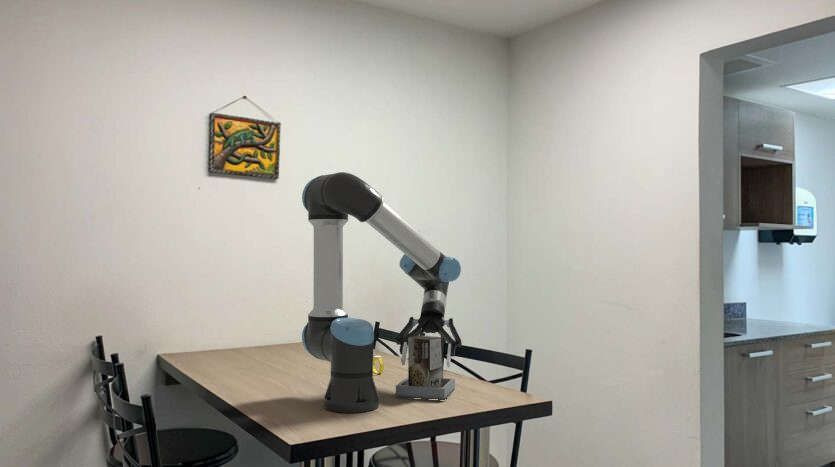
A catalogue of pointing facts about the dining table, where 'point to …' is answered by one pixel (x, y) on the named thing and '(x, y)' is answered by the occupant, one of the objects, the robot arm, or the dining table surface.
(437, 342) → the coffee box
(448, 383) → the tray
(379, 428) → the dining table surface
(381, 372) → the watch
